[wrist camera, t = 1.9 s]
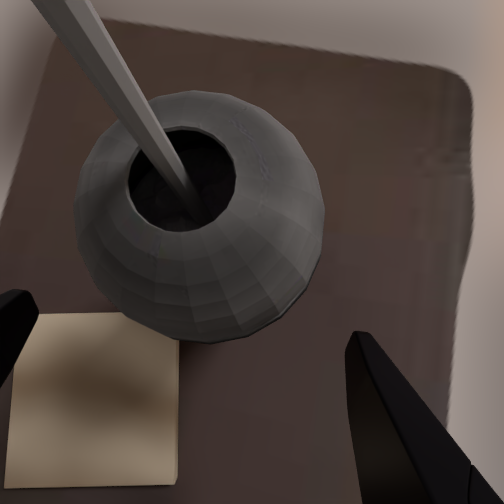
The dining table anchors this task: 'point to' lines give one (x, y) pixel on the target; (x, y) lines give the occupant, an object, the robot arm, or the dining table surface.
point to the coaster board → (93, 404)
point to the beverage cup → (189, 200)
